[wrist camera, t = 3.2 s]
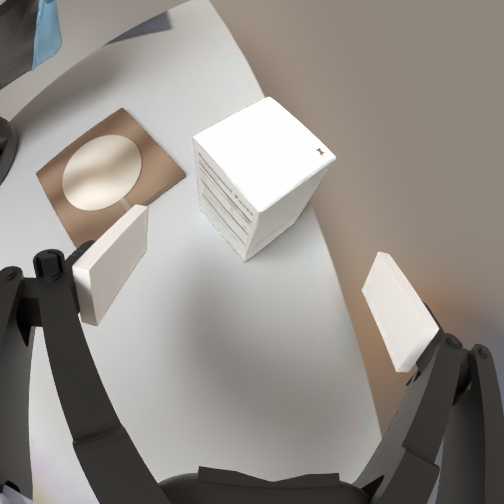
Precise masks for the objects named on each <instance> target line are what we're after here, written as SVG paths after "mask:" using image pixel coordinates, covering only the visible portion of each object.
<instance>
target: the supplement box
mask: <svg viewBox="0 0 504 504" xmlns="http://www.w3.org/2000/svg"><path fill="white" fill-rule="evenodd" d="M193 142H194V153H195V163H196V173H197V182H198V192H199V201H200V209H201V212H202V213H203V214H204V215H205V216H206V217H207V218H208V220H209V221H210V222H211V223H212V224H213V226H214V227H215V228H216V229H217V230H218V232H219V233H220V234H221V235H222V236H223V237H224V239H225V240H226V241H227V242H228V243H229V245H230V246H231V247H232V248H233V249H234V251H235V252H236V253H237V254H238V255H239V256H240V258H241V259H242V260H243V261H244V262H246V261H247V260H249V259H250V258H251V257H253V256H254V255H255V254H257V253H258V252H259V251H260V250H262V249H263V248H264V247H265V246H267V245H268V244H269V243H270V242H272V241H273V240H274V239H275V238H277V237H278V236H279V235H280V234H281V233H283V232H284V231H285V230H286V229H288V228H289V227H290V226H291V225H293V224H294V223H295V222H296V220H297V219H298V217H299V216H300V214H301V212H302V211H303V209H304V208H305V206H306V205H307V203H308V202H309V200H310V199H311V197H312V196H313V194H314V192H315V191H316V189H317V188H318V186H319V185H320V183H321V182H322V180H323V179H324V177H325V175H326V174H327V172H328V171H329V169H330V168H331V166H332V165H333V163H334V161H335V160H336V156H334V154H333V153H331V151H330V150H329V149H328V148H327V147H326V146H325V145H324V144H323V143H322V142H321V141H320V140H319V139H318V138H317V137H316V136H314V135H313V134H312V133H311V132H310V131H309V130H308V129H307V128H306V127H305V126H304V125H302V124H301V123H300V122H299V121H298V120H297V119H296V118H295V117H294V116H293V115H291V114H290V113H289V112H288V111H287V110H286V109H284V108H283V107H282V106H281V105H280V104H279V103H277V102H276V101H275V100H274V99H272V98H271V97H267V98H265V99H263V100H261V101H259V102H257V103H255V104H253V105H251V106H249V107H247V108H245V109H243V110H241V111H239V112H237V113H235V114H233V115H231V116H229V117H227V118H226V119H224V120H222V121H220V122H218V123H216V124H215V125H213V126H211V127H209V128H207V129H206V130H204V131H202V132H200V133H199V134H197V135H195V136H194V137H193Z"/></svg>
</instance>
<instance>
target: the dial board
mask: <svg viewBox="0 0 504 504" xmlns="http://www.w3.org/2000/svg"><path fill="white" fill-rule="evenodd" d="M36 175H37V177H38V179H39V181H40V183H41V185H42V187H43V189H44V191H45V193H46V195H47V197H48V199H49V201H50V203H51V205H52V206H53V208H54V210H55V212H56V214H57V216H58V217H59V219H60V221H61V223H62V225H63V226H64V228H65V230H66V231H67V233H68V235H69V237H70V238H71V240H72V242H73V243H74V245H75V246H76V248H78V247H79V246H81V245H82V244H83V243H85V242H87V241H89V240H94V241H97V240H98V239H99V238H100V237H101V236H102V235H103V234H104V233H105V232H106V231H107V230H108V229H109V228H111V227H112V226H113V225H114V224H115V223H116V222H117V221H118V220H119V219H120V218H121V217H122V216H123V215H124V214H126V213H127V212H128V211H129V210H130V209H131V208H132V207H133V206H134V205H136V204H137V205H143V206H147V205H149V204H150V203H151V202H152V201H154V200H155V199H156V198H158V197H159V196H160V195H161V194H163V193H164V192H165V191H167V190H168V189H169V188H171V187H172V186H173V185H175V184H176V183H177V182H179V181H180V180H182V179H183V178H184V177H185V173H184V171H183V170H182V169H181V168H180V167H179V166H178V165H177V164H176V163H175V162H174V161H173V160H172V159H171V158H170V157H169V156H168V155H167V154H166V153H165V151H164V150H163V149H162V148H161V147H160V146H159V145H158V144H157V143H156V142H155V141H154V140H153V139H152V138H151V137H150V136H149V135H148V134H147V133H146V132H145V131H144V130H143V129H142V127H141V126H140V125H139V124H138V123H137V122H136V121H135V120H134V119H133V118H132V117H131V116H130V115H129V114H128V113H127V112H126V111H125V110H124V109H123V108H121V109H119V110H118V111H116V112H115V113H113V114H112V115H110V116H109V117H107V118H106V119H104V120H103V121H101V122H100V123H98V124H97V125H96V126H94V127H93V128H91V129H90V130H89V131H87V132H86V133H85V134H83V135H82V136H81V137H79V138H78V139H77V140H75V141H74V142H73V143H71V144H70V145H69V146H68V147H66V148H65V149H64V150H63V151H61V152H60V153H59V154H58V155H57V156H55V157H54V158H53V159H52V160H51V161H49V162H48V163H47V164H46V165H45V166H44V167H43V168H41V169H40V170H39V171H38V172H37V173H36Z"/></svg>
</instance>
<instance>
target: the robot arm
mask: <svg viewBox="0 0 504 504" xmlns="http://www.w3.org/2000/svg"><path fill="white" fill-rule="evenodd" d="M61 44H62V38H61V31H60V25H59V19H58V12H57V3H56V0H0V90H1V89H3V88H4V87H5V86H7V85H8V84H10V83H11V82H13V81H14V80H16V79H17V78H19V77H20V76H22V75H23V74H25V73H26V72H28V71H30V70H31V71H33V70H34V69H35V68H36V66H38V65H39V64H41V63H43V62H44V61H46V60H48V59H49V58H51V57H53V56H54V55H55V54H56V53H57V52H58V51H59V49H60V47H61ZM17 142H18V139H17V133H16V131H15V129H14V128H13V127H12V126H11V124H10V123H9V122H8V121H7V120H6V119H4V118H2V117H0V184H1V182H2V181H3V179H4V177H5V176H6V174H7V172H8V170H9V168H10V166H11V164H12V162H13V159H14V156H15V153H16V149H17ZM147 223H148V206H143V205H137V204H136V205H134V206H133V207H132V208H131V209H130V210H129V211H128V212H127V213H126V214H124V215H123V216H122V217H121V218H120V219H119V220H118V221H117V222H116V223H115V224H114V225H113V226H112V227H111V228H109V229H108V230H107V231H106V232H105V233H104V234H103V235H102V236H101V237H100V238H99V239H98V240H97V241H94V240H89V241H87V242H85V243H83V244H82V245H81V246H79V247H78V248H77V249H76V250H75V251H74V252H73V253H72V255H70V256H69V257H68V258H67V259H66V260H65V259H64V254H63V253H62V252H61V251H59V250H56V249H48V250H44V251H41V252H39V253H38V254H36V255H35V257H34V258H33V264H34V269H35V274H36V278H26V277H24V276H23V272H22V270H21V268H19V267H16V266H11V267H6V268H4V269H2V270H1V271H0V504H35V503H34V502H33V501H32V493H33V485H32V472H31V462H30V449H29V425H28V407H29V382H30V369H31V358H32V349H33V341H34V334H35V328H36V326H37V327H43V332H44V337H45V343H46V348H47V352H48V357H49V362H50V366H51V370H52V374H53V378H54V382H55V385H56V389H57V392H58V396H59V399H60V403H61V406H62V409H63V412H64V415H65V418H66V421H67V424H68V426H69V429H70V432H71V435H72V438H73V447H74V450H75V453H76V455H77V458H78V460H79V462H80V465H81V467H82V469H83V471H84V473H85V476H86V478H87V480H88V482H89V484H90V486H91V488H92V490H93V492H94V494H95V496H96V498H97V499H98V501H99V503H100V504H427V502H428V499H429V497H430V495H431V492H432V490H433V487H434V485H435V483H436V480H437V477H438V475H439V471H440V468H439V466H437V465H436V464H434V462H435V459H436V456H437V453H438V450H439V447H440V444H441V441H442V438H443V435H444V445H443V455H442V465H441V473H440V480H439V487H438V493H437V498H436V503H435V504H504V415H503V408H502V402H501V396H500V390H499V385H498V380H497V375H496V370H495V366H494V362H493V358H492V355H491V353H490V351H489V349H488V348H486V347H485V346H483V345H481V344H475V345H474V347H473V348H472V350H471V351H469V350H466V349H463V345H462V343H461V342H460V341H459V340H458V338H456V337H455V336H454V335H451V334H448V333H444V331H443V329H442V328H441V326H440V324H439V323H438V321H437V320H436V319H435V317H434V315H433V313H432V312H431V310H430V309H429V307H428V306H427V305H426V304H425V303H424V302H423V301H422V300H421V299H420V298H419V296H418V295H417V293H416V292H415V290H414V289H413V287H412V286H411V284H410V283H409V281H408V280H407V278H406V277H405V276H404V274H403V273H402V271H401V270H400V269H399V267H398V266H397V264H396V263H395V262H394V260H393V259H392V258H391V256H390V255H389V254H386V253H382V252H378V253H377V256H376V258H375V261H374V263H373V265H372V268H371V270H370V272H369V275H368V277H367V280H366V282H365V284H364V286H363V288H362V292H363V294H364V296H365V299H366V301H367V303H368V305H369V307H370V310H371V312H372V314H373V316H374V319H375V321H376V323H377V326H378V328H379V330H380V333H381V335H382V338H383V340H384V342H385V345H386V347H387V350H388V352H389V355H390V357H391V360H392V362H393V365H394V367H395V369H396V372H409V371H410V370H411V369H412V367H413V366H414V365H415V363H416V365H417V367H418V370H417V371H416V373H415V374H414V375H413V376H412V378H411V379H410V380H409V381H408V383H407V384H406V385H407V386H408V385H409V384H410V385H409V387H408V390H407V392H406V394H405V396H404V398H403V400H402V402H401V404H400V407H399V409H398V411H397V413H396V415H395V417H394V419H393V420H392V422H391V424H390V426H389V428H388V430H387V432H386V433H385V435H384V437H383V439H382V441H381V442H380V444H379V446H378V448H377V449H376V451H375V453H374V454H373V456H372V458H371V459H370V461H369V462H368V464H367V466H366V467H365V469H364V470H363V472H362V473H361V475H360V476H359V478H358V479H357V480H356V481H355V482H354V483H353V484H349V483H346V482H343V481H340V480H339V473H331V474H307V475H303V476H299V477H295V478H290V479H286V480H281V481H276V482H270V481H266V480H263V479H259V478H256V477H252V476H249V475H246V474H243V473H240V472H236V471H230V470H221V469H214V468H207V467H201V466H199V470H198V473H189V474H182V475H178V476H174V477H171V478H168V479H165V480H163V481H161V482H159V483H157V482H156V480H155V479H154V477H153V476H152V474H151V473H150V471H149V469H148V468H147V466H146V465H145V463H144V461H143V460H142V458H141V456H140V455H139V453H138V451H137V449H136V448H135V446H134V444H133V442H132V440H131V439H130V437H129V435H128V433H127V431H126V430H125V428H124V427H123V426H122V424H121V423H120V421H119V419H118V417H117V415H116V413H115V410H114V408H113V406H112V404H111V402H110V400H109V398H108V395H107V393H106V391H105V388H104V386H103V384H102V381H101V379H100V377H99V374H98V372H97V369H96V367H95V364H94V361H93V359H92V356H91V353H90V351H89V348H88V345H87V342H86V339H85V336H84V333H83V330H82V327H81V324H80V321H79V318H78V313H79V312H80V315H81V319H82V322H84V323H88V324H91V325H94V326H98V325H99V323H100V321H101V320H102V318H103V316H104V315H105V313H106V311H107V310H108V308H109V307H110V305H111V303H112V302H113V300H114V299H115V297H116V296H117V294H118V293H119V291H120V289H121V288H122V286H123V285H124V283H125V282H126V280H127V279H128V277H129V276H130V274H131V273H132V271H133V270H134V268H135V267H136V265H137V264H138V262H139V261H140V259H141V258H142V257H143V255H144V254H145V252H146V251H147ZM470 386H471V387H470ZM469 387H470V389H469Z"/></svg>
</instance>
